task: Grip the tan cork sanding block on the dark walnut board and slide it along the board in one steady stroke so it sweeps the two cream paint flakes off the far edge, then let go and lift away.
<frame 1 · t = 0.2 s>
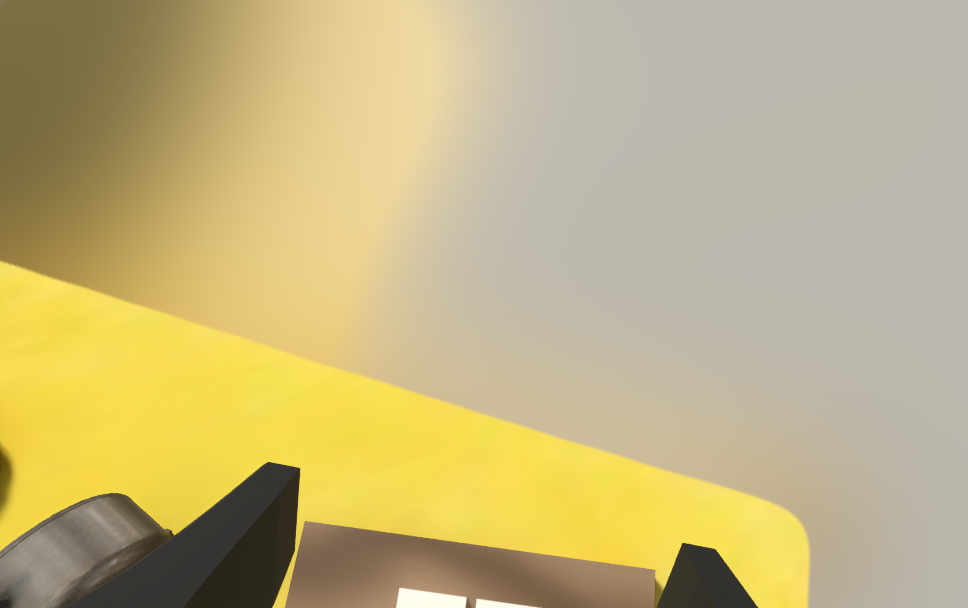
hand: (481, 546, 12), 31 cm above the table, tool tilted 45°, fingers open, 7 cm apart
alarm clock: (130, 602, 39), on the table
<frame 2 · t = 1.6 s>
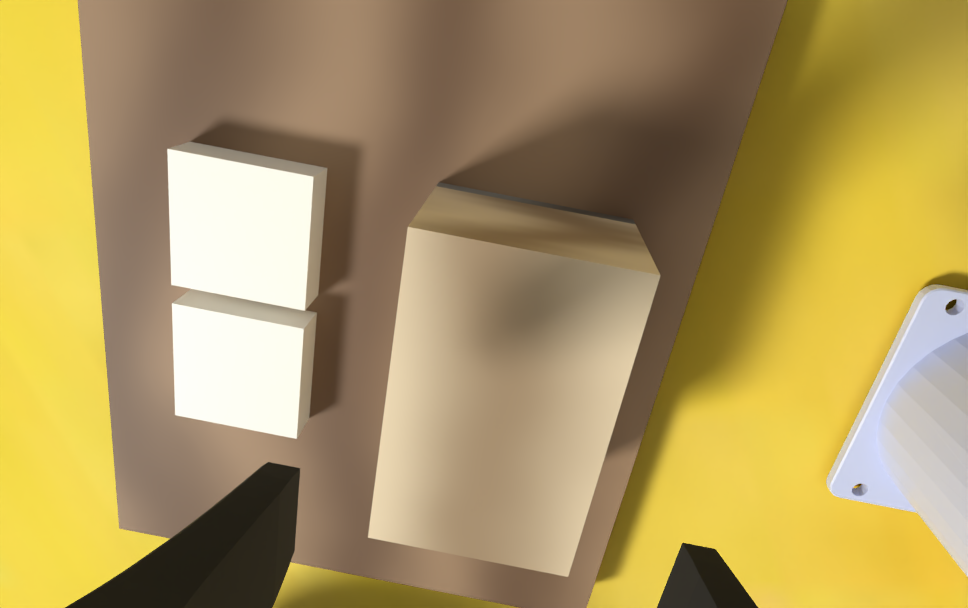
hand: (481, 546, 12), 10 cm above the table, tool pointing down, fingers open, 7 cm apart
walnut board: (390, 297, 21), on the table
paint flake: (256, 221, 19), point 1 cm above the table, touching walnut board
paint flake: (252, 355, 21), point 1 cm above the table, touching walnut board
sanding block: (506, 340, 20), point 1 cm above the table, touching walnut board
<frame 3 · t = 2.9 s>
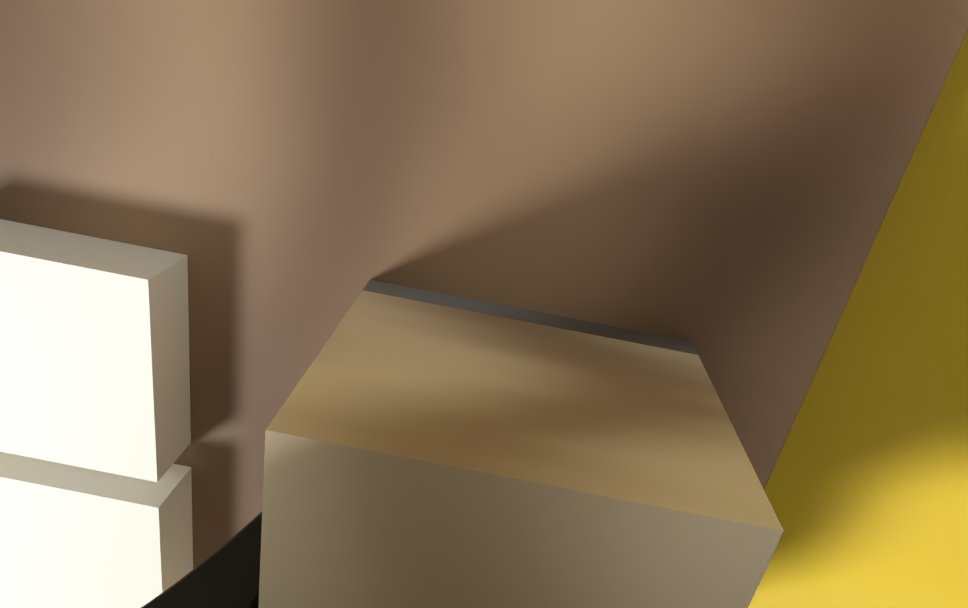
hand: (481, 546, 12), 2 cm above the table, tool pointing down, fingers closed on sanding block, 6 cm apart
walnut board: (313, 431, 14), on the table
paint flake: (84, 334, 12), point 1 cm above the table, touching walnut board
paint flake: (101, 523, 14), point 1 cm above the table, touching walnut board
sanding block: (485, 512, 13), point 1 cm above the table, touching gripper, walnut board
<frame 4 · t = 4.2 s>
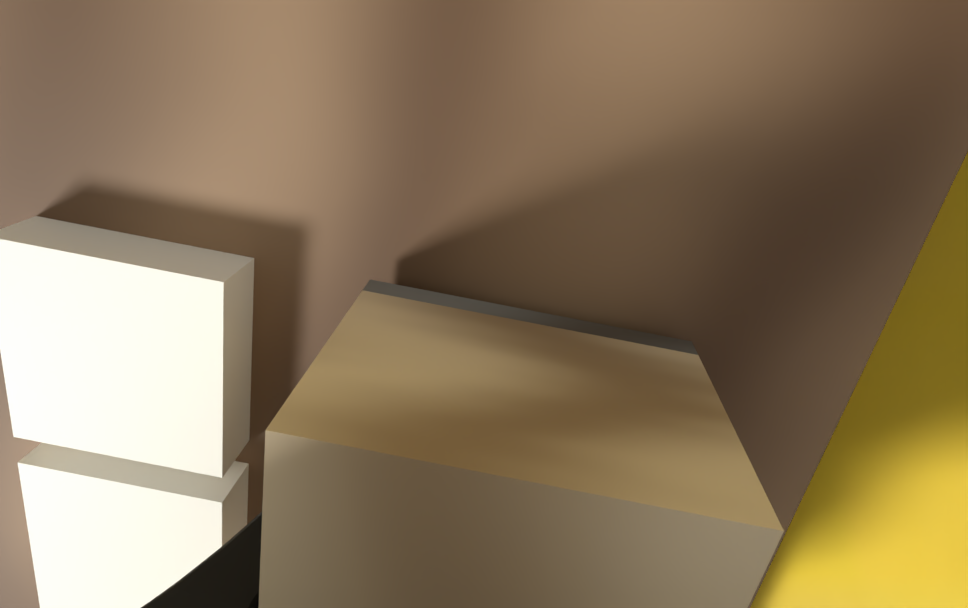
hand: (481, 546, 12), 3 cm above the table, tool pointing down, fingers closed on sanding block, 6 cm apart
walnut board: (362, 428, 14), on the table
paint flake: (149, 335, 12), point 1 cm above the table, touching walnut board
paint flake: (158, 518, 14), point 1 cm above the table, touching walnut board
sanding block: (485, 512, 13), point 2 cm above the table, touching gripper
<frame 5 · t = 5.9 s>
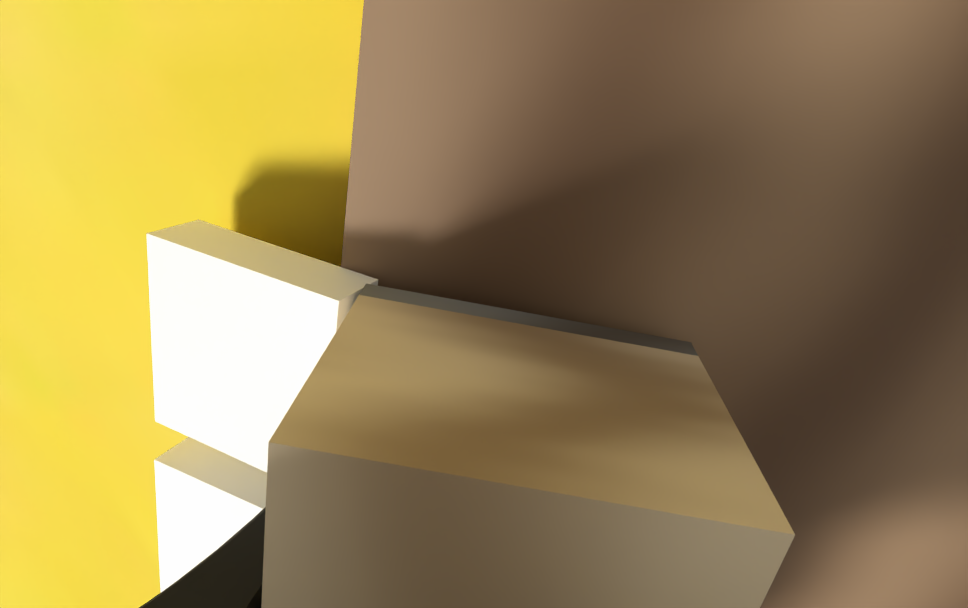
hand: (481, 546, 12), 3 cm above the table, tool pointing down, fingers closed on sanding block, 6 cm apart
walnut board: (733, 501, 14), on the table
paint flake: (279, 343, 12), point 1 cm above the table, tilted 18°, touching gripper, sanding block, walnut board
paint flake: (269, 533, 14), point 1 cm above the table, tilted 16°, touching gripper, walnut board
sanding block: (484, 516, 13), point 2 cm above the table, touching gripper, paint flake
when the fingers open (3 cm above the table, at t = 7.6 s): sanding block stays where it is, resting on walnut board.
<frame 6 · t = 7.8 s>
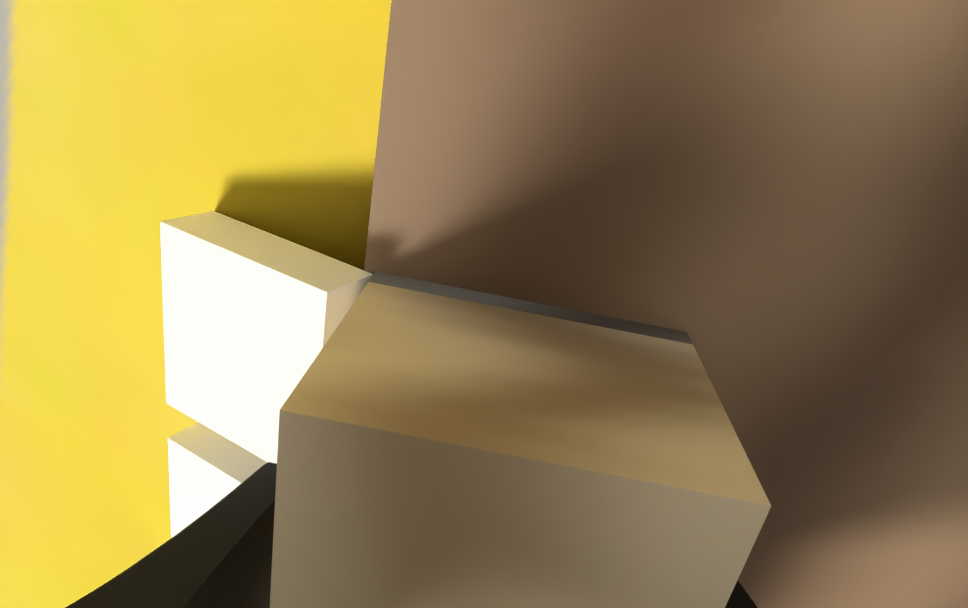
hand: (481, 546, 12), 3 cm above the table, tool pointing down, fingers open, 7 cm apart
walnut board: (752, 505, 14), on the table
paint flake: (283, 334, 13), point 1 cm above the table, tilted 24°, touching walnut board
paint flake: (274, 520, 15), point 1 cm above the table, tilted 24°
sanding block: (486, 499, 13), point 1 cm above the table, touching walnut board
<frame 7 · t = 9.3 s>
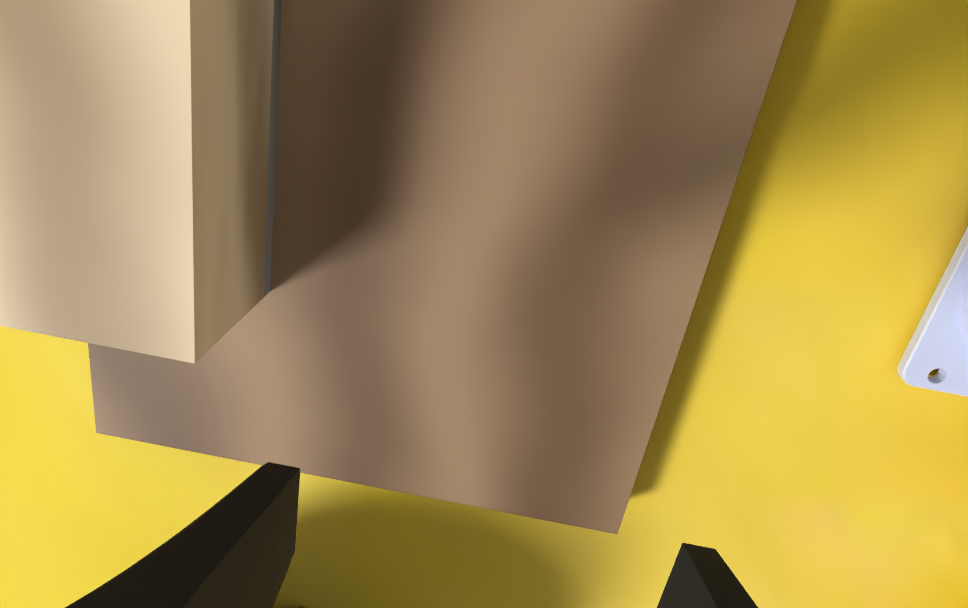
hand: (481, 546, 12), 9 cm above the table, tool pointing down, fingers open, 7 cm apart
walnut board: (403, 152, 18), on the table
sanding block: (174, 120, 17), point 1 cm above the table, touching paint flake, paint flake, walnut board
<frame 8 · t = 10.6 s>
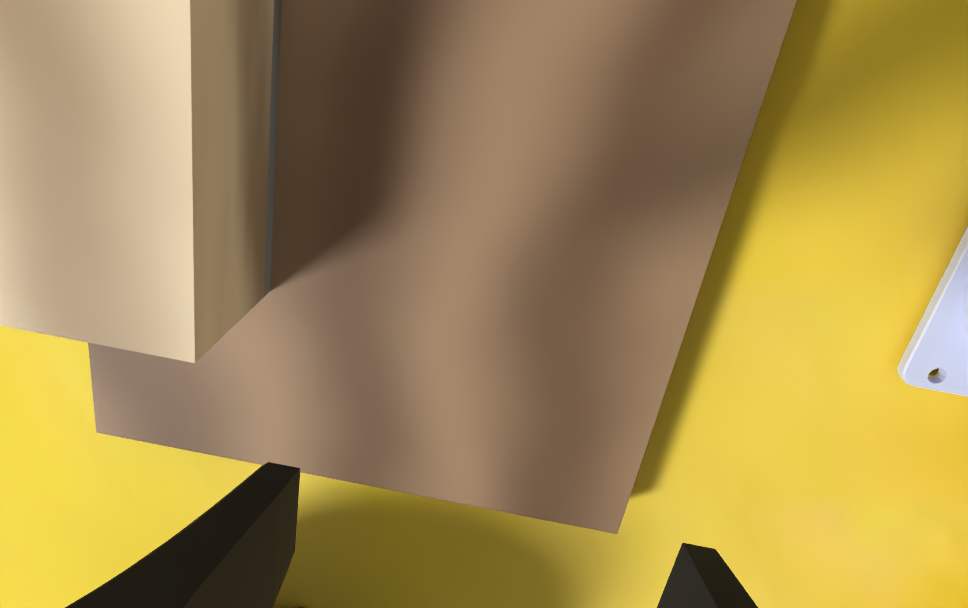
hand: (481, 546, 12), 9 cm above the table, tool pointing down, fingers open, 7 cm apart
walnut board: (403, 152, 18), on the table
sanding block: (174, 120, 17), point 1 cm above the table, touching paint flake, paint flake, walnut board
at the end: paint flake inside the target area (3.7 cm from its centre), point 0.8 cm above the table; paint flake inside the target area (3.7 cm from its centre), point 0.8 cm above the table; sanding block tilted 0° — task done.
